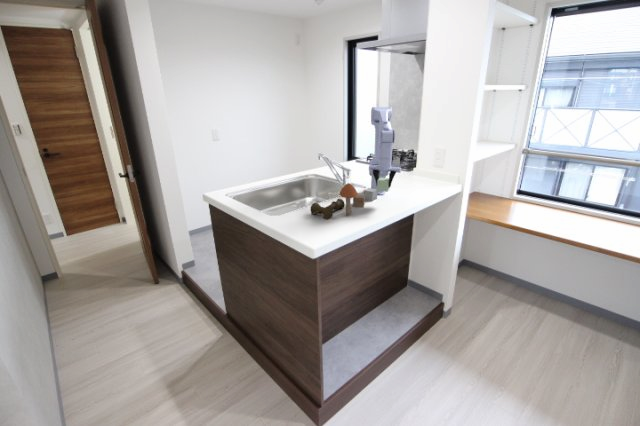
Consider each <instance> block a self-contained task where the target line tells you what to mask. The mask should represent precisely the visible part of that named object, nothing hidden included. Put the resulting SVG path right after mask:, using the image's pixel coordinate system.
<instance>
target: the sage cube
mask: <svg viewBox="0 0 640 426" xmlns="http://www.w3.org/2000/svg"><path fill="white" fill-rule="evenodd" d="M390 188H391V187H389V177H385V178H379V179H378V180H377V191H385V193H387V192H389V190H390Z"/></svg>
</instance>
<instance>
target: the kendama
mask: <svg viewBox="0 0 640 426" xmlns="http://www.w3.org/2000/svg"><path fill="white" fill-rule="evenodd" d="M345 207H346V202H345V201H344V200H343V199H342V198H337V199H336V201H331V203H330V204H328V206H321V205H320V204H319V203H318V202H313V203H312V204H311V205H310V213H311V215H318V214H319V215H322V216H323V218H324V219H325V220H330V219H332V218H333V215H334V211H338V210H343V209H344V208H345Z"/></svg>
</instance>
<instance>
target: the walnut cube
mask: <svg viewBox="0 0 640 426" xmlns="http://www.w3.org/2000/svg"><path fill="white" fill-rule="evenodd" d="M357 194H358V195H357V196H356V197H353V198H352V199H353V200H352V207H353V208H364V207H365V201H366V200H365V194H364V193H357Z"/></svg>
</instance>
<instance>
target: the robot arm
mask: <svg viewBox="0 0 640 426" xmlns="http://www.w3.org/2000/svg"><path fill="white" fill-rule="evenodd" d="M392 109H393V108H392V106H372V107H371V111H370V123H371V125H373V126H374V130H375V134H374V135H375V137H374V138H375V139H374V141H375V142H374V144H375V145H374V147H375V148H374V158H372V159H371V160H370V161H369V165H368V174H369V176H370V177H371V182H370V188H372V189H377V180H378V179H379V178H387V176H388V175H389V176H388V178H389V187H390V188H391V186H392V182H393V180H394V177H395V175H396V174H397V173H399V174H400V173H402V172H401V171H402V167H396V166H392V158H393V147H394V146H393V145H394V144H395V139H396V138H395V137H396V134H395V129H393V128H392V124H391V119H392V115H393V114H392V113H393V110H392ZM385 193H386V192H385V191H377V195H378V196H379V195H380V196H383V195H385Z"/></svg>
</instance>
